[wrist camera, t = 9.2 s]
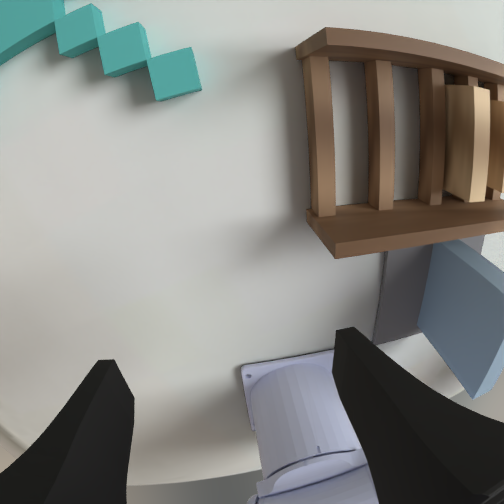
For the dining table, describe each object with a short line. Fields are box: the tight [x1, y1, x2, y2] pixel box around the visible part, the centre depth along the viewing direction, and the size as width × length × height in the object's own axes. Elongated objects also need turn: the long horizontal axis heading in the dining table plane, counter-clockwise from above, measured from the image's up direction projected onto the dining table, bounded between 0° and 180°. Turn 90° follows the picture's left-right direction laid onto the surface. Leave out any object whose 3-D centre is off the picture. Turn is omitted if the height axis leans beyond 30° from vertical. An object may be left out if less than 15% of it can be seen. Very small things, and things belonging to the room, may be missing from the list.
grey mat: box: [372, 235, 485, 345], centre depth 22 cm, size 10×10×1 cm
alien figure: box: [0, 0, 202, 101], centre depth 10 cm, size 20×2×20 cm
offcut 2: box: [486, 100, 504, 193], centre depth 16 cm, size 6×2×4 cm, turn 5°
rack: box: [295, 27, 504, 259], centre depth 15 cm, size 10×16×5 cm, turn 95°
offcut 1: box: [443, 85, 490, 202], centre depth 16 cm, size 7×2×4 cm, turn 6°
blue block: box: [417, 239, 504, 399], centre depth 18 cm, size 8×2×9 cm, turn 6°
